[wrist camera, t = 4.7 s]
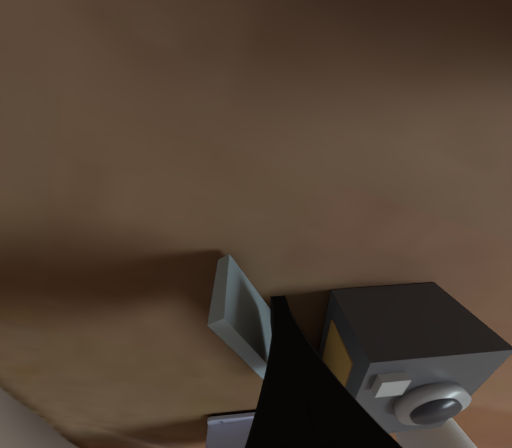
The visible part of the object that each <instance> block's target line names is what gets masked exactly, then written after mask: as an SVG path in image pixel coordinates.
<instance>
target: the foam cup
mask: <svg viewBox="0 0 512 448" xmlns="http://www.w3.org/2000/svg"><path fill="white" fill-rule="evenodd" d="M394 433H395V435H396V438H397V441H398V443H399V445H400V446H401V447H403V448H477V447H476V446H475V445H474V443H473V442H472V441H471V440H470V439H469V437H468V436H467V435H466V434H465V433H464V431H463V430H462V429H461V428H460V427H459V426H458V424H457V423H456V422H455V421H454V420H453V418H449V419H448V420H447V421H446V422H445V423H444V424H443V425H442V426H441V427H439V428H430V429H421V430H412V431H403V432H394Z"/></svg>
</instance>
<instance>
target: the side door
mask: <svg viewBox="0 0 512 448" xmlns="http://www.w3.org/2000/svg"><path fill="white" fill-rule="evenodd" d="M207 326H208V327H209V328H210V329H211V330H212V331H213V332H214V333H216V334H217V335H218V336H219V337H220V338H221V339H222V340H223V341H224V342H225V343H226V344H227V345H228V346H229V347H230V348H231V349H232V350H233V351H234V352H235V353H236V354H237V355H238V356H240V357H241V358H242V359H243V360H244V361H245V362H246V363H247V364H248V365H249V366H250V367H251V368H252V369H253V370H254V371H255V372H256V373H257V374H258V375H259V376H260V377H261V378H262V379H263V380H264V376H265V371H266V366H267V361H268V356H269V350H270V343H271V337H272V333H271V324H270V308H269V307H268V305H267V304H266V303H265V301H264V300H263V299H262V297H261V296H260V295H259V293H258V292H257V291H256V289H255V288H254V287H253V285H252V284H251V283H250V281H249V280H248V279H247V277H246V276H245V274H244V273H243V272H242V270H241V269H240V268H239V266H238V265H237V264H236V262H235V261H234V260H233V258H232V257H231V256H230V254H228V255H226V256H224V257H222V258H220V259H218V263H217V269H216V275H215V281H214V287H213V293H212V299H211V306H210V312H209V318H208V324H207Z"/></svg>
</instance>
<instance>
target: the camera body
mask: <svg viewBox="0 0 512 448" xmlns="http://www.w3.org/2000/svg"><path fill="white" fill-rule="evenodd" d="M511 354H512V346H511V345H510V344H508V343H507V342H506V341H505V340H503V339H502V338H501V337H500V336H499V335H497V334H496V333H495V332H494V331H493V330H491V329H490V328H489V327H488V326H487V325H485V324H484V323H483V322H482V321H480V320H479V319H478V318H477V317H476V316H474V315H473V314H472V313H471V312H470V311H468V310H467V309H466V308H465V307H464V306H462V305H461V304H460V303H459V302H457V301H456V300H455V299H454V298H453V297H451V296H450V295H449V294H448V293H447V292H445V291H444V290H443V289H442V288H441V287H439V286H438V285H437V284H436V283H434V282H433V283H419V284H405V285H391V286H377V287H363V288H349V289H335V290H331V293H330V298H329V303H328V308H327V313H326V318H325V322H324V327H323V332H322V337H321V342H320V347H319V352H318V355H319V356H320V357H321V359H322V360H323V361H324V363H325V364H326V365H327V366H328V368H329V369H330V370H331V372H332V373H333V374H334V375H335V376H336V378H337V379H338V380H339V381H340V382H341V384H342V385H343V386H344V387H345V388H346V389H347V390H348V392H349V393H350V394H351V395H352V396H353V397H354V398H355V399H356V400H357V401H358V403H359V404H360V405H361V406H362V407H363V408H364V409H365V410H366V411H367V412H368V413H369V414H370V415H371V417H372V418H373V419H374V420H375V421H376V422H377V423H378V424H379V425H380V426H381V427H382V428H383V429H384V430H385V431H386V432H387V433H394V432H403V431H412V430H421V429H430V428H439V427H441V426H442V425H443V424H444V423H445V422H446V421H447V420H448V419H449V418H452V417H453V416H455V415H457V414H458V413H459V412H461V411H462V410H464V409H465V408H466V407H467V406H468V405H469V404H470V402H471V397H470V396H471V395H472V394H473V393H474V392H475V391H476V390H477V389H478V388H479V387H480V386H481V385H482V384H483V383H484V382H485V381H486V380H487V379H488V378H489V377H490V376H491V375H492V374H493V372H494V371H495V370H496V369H497V368H498V367H499V366H500V365H501V364H502V363H503V362H504V361H505V360H506V359H507V358H508V357H509V356H510V355H511Z"/></svg>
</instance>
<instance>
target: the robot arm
mask: <svg viewBox="0 0 512 448" xmlns="http://www.w3.org/2000/svg"><path fill="white" fill-rule="evenodd" d="M270 324H271V333H272V337H271V343H270V350H269V356H268V361H267V366H266V371H265V376H264V380H263V384H262V388H261V392H260V396H259V400H258V404H257V408H256V411H255V412H251V413H241V414H231V415H221V416H211V417H209V418H208V420H207V424H208V430H207V439H206V448H403V447H401V446H400V445H399V444H398V443H397V442H396V441H395V440H394V439H393V438H392V437H391V436H390V435H389V434H388V433H387V432H386V431H385V430H384V429H383V428H382V427H381V426H380V425H379V424H378V423H377V422H376V421H375V420H374V419H373V418H372V417H371V415H370V414H369V413H368V412H367V411H366V410H365V409H364V408H363V407H362V406H361V405H360V404H359V403H358V401H357V400H356V399H355V398H354V397H353V396H352V395H351V394H350V393H349V392H348V390H347V389H346V388H345V387H344V386H343V385H342V384H341V382H340V381H339V380H338V379H337V378H336V376H335V375H334V374H333V373H332V372H331V370H330V369H329V368H328V366H327V365H326V364H325V363H324V361H323V360H322V359H321V357H320V356H319V355H318V353H317V352H316V351H315V349H314V348H313V346H312V345H311V343H310V342H309V341H308V339H307V338H306V336H305V335H304V333H303V331H302V330H301V328H300V327H299V325H298V323H297V322H296V320H295V318H294V317H293V315H292V313H291V311H290V309H289V305H288V302H287V300H286V297H285V296H273V297H271V306H270Z"/></svg>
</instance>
